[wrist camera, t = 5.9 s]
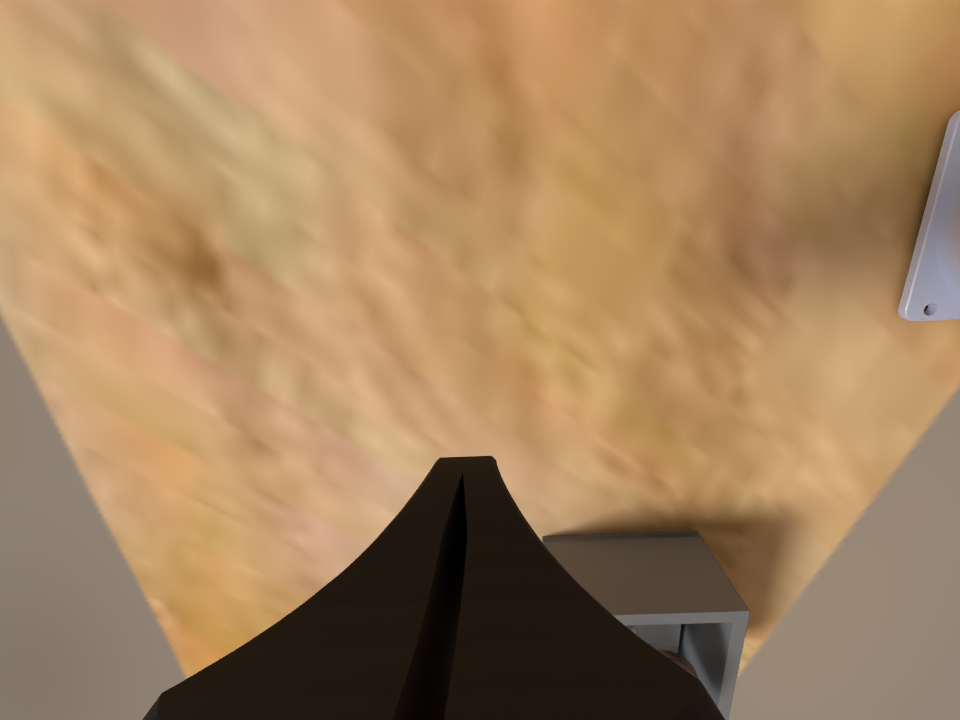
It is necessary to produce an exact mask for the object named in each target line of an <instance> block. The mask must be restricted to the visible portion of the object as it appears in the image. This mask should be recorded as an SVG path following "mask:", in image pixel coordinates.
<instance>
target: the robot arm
mask: <svg viewBox="0 0 960 720" xmlns="http://www.w3.org/2000/svg"><path fill="white" fill-rule="evenodd" d="M927 305H928V308H927V310H926V311H925V312H924V309H925V307H926V306H927ZM898 314H899V316H900V317H901V318H902V319H905V320H909V321H935V320H958V319H960V110H958V111H957V112H955V113H954V114H953V115H952V117H951V118H950V120H949V122H948V125H947V129H946V133H945V136H944V140H943V144H942V148H941V151H940V155H939V159H938V163H937V166H936V170H935V174H934V178H933V181H932V185H931V189H930V193H929V196H928V200H927V204H926V208H925V211H924V215H923V219H922V223H921V226H920V230H919V234H918V238H917V241H916V245H915V249H914V253H913V256H912V260H911V264H910V268H909V271H908V275H907V279H906V283H905V286H904V290H903V294H902V298H901V301H900V305H899V309H898ZM143 720H725V719H724V717H723V715H722V714H721V712H720V710H719V709H718V707H717V706H716V704H715V702H714V701H713V699H712V698H711V696H710V694H709V693H708V691H707V690H706V688H705V687H704V685H703V684H702V682H701V681H700V680H699V679H697V678H696V677H695V676H693V675H692V674H690V673H689V672H688V671H686V670H685V669H683V668H682V667H680V666H679V665H678V664H676V663H675V662H673V661H672V660H671V659H669V658H668V657H666V656H665V655H663V654H662V653H661V652H659V651H658V650H656V649H655V648H654V647H652V646H651V645H649V644H648V643H646V642H645V641H644V640H642V639H641V638H640V637H638V636H637V635H636V634H635V633H633V632H632V631H631V630H630V629H628V628H627V627H626V626H625V625H624V624H622V623H621V622H620V621H619V620H617V619H616V618H615V617H614V616H613V615H612V614H611V613H610V612H609V611H608V610H606V609H605V608H604V607H603V606H602V605H601V604H600V603H599V602H598V601H597V600H596V599H595V598H594V597H592V596H591V595H590V594H589V593H588V592H587V591H586V590H585V589H584V588H583V587H582V586H581V585H580V584H579V583H578V582H577V581H576V580H575V579H574V578H573V577H572V576H571V575H570V574H569V573H568V572H567V571H566V570H565V569H564V567H563V566H562V565H561V564H560V563H559V562H558V561H557V560H556V558H555V557H554V556H553V555H552V554H551V553H550V551H549V550H548V549H547V548H546V546H545V545H544V544H543V543H542V541H541V540H540V539H539V537H538V536H537V535H536V533H535V532H534V531H533V529H532V528H531V526H530V525H529V524H528V522H527V521H526V519H525V518H524V516H523V515H522V513H521V512H520V510H519V508H518V507H517V505H516V503H515V502H514V500H513V498H512V497H511V495H510V493H509V491H508V489H507V487H506V485H505V483H504V481H503V479H502V477H501V475H500V472H499V470H498V466H497V463H496V460H495V459H494V458H493V457H492V456H475V457H447V458H439V459H438V460H437V461H436V462H435V464H434V466H433V467H432V469H431V470H430V472H429V473H428V475H427V476H426V478H425V479H424V481H423V482H422V483H421V485H420V486H419V488H418V489H417V490H416V492H415V493H414V494H413V496H412V497H411V498H410V500H409V501H408V502H407V503H406V505H405V506H404V507H403V509H402V510H401V511H400V512H399V514H398V515H397V516H396V517H395V518H394V519H393V521H392V522H391V523H390V524H389V525H388V526H387V527H386V528H385V530H384V531H383V532H382V533H381V534H380V535H379V536H378V538H377V539H376V540H375V541H374V542H373V543H372V544H371V545H370V546H369V547H368V548H367V549H366V550H365V551H364V552H363V553H362V554H361V555H360V556H359V557H358V558H357V559H356V560H355V561H354V562H353V563H351V564H350V565H349V566H348V567H347V568H346V569H345V570H344V571H343V572H342V573H341V574H339V575H338V576H337V577H336V578H334V579H333V580H332V581H331V582H329V583H328V584H327V585H326V586H325V587H323V588H322V589H321V590H320V591H318V592H317V593H316V594H315V595H313V596H312V597H311V598H310V599H308V600H307V601H306V602H305V603H303V604H302V605H301V606H299V607H298V608H297V609H295V610H294V611H293V612H291V613H290V614H288V615H287V616H286V617H284V618H283V619H281V620H280V621H279V622H277V623H276V624H274V625H273V626H271V627H270V628H268V629H267V630H265V631H264V632H262V633H261V634H259V635H258V636H256V637H255V638H253V639H252V640H250V641H249V642H247V643H246V644H244V645H243V646H241V647H239V648H238V649H236V650H235V651H233V652H231V653H230V654H228V655H226V656H225V657H223V658H221V659H220V660H218V661H216V662H215V663H213V664H211V665H210V666H208V667H206V668H204V669H203V670H201V671H199V672H198V673H196V674H194V675H193V676H191V677H189V678H188V679H186V680H184V681H183V682H181V683H179V684H177V685H176V686H174V687H172V688H170V689H168V690H167V691H165V692H163V693H162V694H161V695H160V697H159V698H158V699H157V701H156V702H155V703H154V705H153V706H152V707H151V709H150V710H149V712H148V713H147V714H146V716H145V717H144V719H143Z"/></svg>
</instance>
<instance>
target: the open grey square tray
mask: <svg viewBox="0 0 960 720" xmlns="http://www.w3.org/2000/svg"><path fill="white" fill-rule="evenodd" d="M542 543H543V544H544V545H545V546H546V548H547V549H548V550H549V551H550V553H551V554H552V555H553V556H554V557H555V558H556V560H557V561H558V562H559V563H560V564H561V565H562V566H563V567H564V569H565V570H566V571H567V572H568V573H569V574H570V575H571V576H572V577H573V578H574V579H575V580H576V581H577V582H578V583H579V584H580V585H581V586H582V587H583V588H584V589H585V590H586V591H587V592H588V593H589V594H590V595H591V596H592V597H594V598H595V599H596V600H597V601H598V602H599V603H600V604H601V605H602V606H603V607H604V608H605V609H606V610H608V611H609V612H610V613H611V614H612V615H613V616H614V617H615V618H616V619H617V620H619V621H620V622H621V623H622V624H624V625H625V626H630V625H663V624H681V631H680V638H679V646H678V653H677V654H679V655H681V656H683V657H684V658H686V659H687V660H688V661H689V662H690V663H691V664H692V666H693V667H694V669H695V671H696V673H697V675H698V678H699V680H700V681H701V682H702V684H703V685H704V687H705V688H706V690H707V691H708V693H709V694H710V696H711V698H712V699H713V701H714V702H715V704H716V706H717V707H718V709H719V710H720V712H721V714H722V715H723V717H724V719H725V720H729V714H730V709H731V704H732V699H733V694H734V689H735V684H736V679H737V674H738V669H739V664H740V658H741V653H742V648H743V643H744V638H745V633H746V628H747V623H748V618H749V613H750V611H749V609H748V608H747V606H746V605H745V603H744V602H743V600H742V598H741V597H740V595H739V594H738V592H737V591H736V589H735V588H734V586H733V585H732V583H731V582H730V580H729V579H728V577H727V576H726V574H725V573H724V571H723V570H722V568H721V567H720V565H719V564H718V562H717V561H716V559H715V557H714V556H713V554H712V553H711V551H710V550H709V548H708V547H707V545H706V544H705V542H704V541H703V539H702V538H701V536H700V535H699V533H698V532H697V531H687V532H658V533H629V534H600V535H571V536H542Z"/></svg>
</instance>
